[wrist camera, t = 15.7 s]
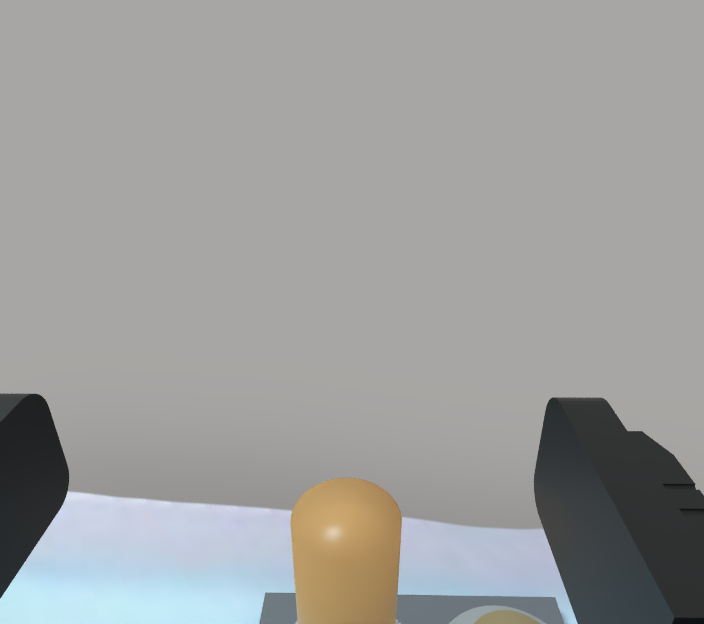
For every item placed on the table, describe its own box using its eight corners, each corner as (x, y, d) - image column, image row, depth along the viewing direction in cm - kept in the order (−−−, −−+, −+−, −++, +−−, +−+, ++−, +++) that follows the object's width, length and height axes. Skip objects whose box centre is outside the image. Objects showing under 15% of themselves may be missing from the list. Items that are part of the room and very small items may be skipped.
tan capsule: (285, 713, 31) (267, 525, 24) (340, 644, 34) (338, 463, 28) (354, 779, 28) (356, 588, 21) (407, 697, 32) (422, 510, 25)
